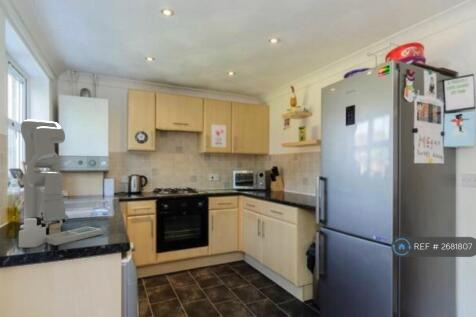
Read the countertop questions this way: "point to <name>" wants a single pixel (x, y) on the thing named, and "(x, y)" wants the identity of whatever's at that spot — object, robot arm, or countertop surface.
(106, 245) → the countertop surface
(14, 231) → the countertop surface
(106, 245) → the countertop surface
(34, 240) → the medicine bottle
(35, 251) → the countertop surface
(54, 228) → the wooden block
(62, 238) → the organiser tray
